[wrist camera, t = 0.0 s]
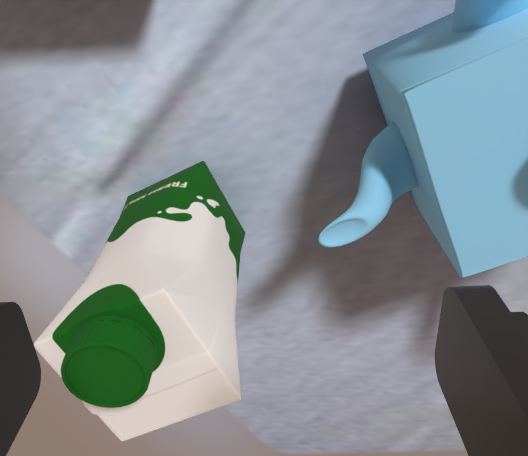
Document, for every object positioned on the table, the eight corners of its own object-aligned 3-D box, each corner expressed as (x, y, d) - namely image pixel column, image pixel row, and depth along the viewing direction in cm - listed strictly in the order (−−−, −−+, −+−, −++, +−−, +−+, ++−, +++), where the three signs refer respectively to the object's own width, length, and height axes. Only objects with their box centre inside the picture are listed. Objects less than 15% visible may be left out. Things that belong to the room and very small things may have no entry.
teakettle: (666, 5, 34) (916, 33, 21) (510, 235, 42) (620, 358, 29) (416, -112, 31) (526, -163, 18) (300, 161, 39) (318, 261, 26)
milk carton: (208, 145, 39) (161, 303, 21) (260, 238, 42) (258, 438, 25) (111, 191, 40) (-7, 373, 23) (170, 276, 44) (108, 489, 27)
